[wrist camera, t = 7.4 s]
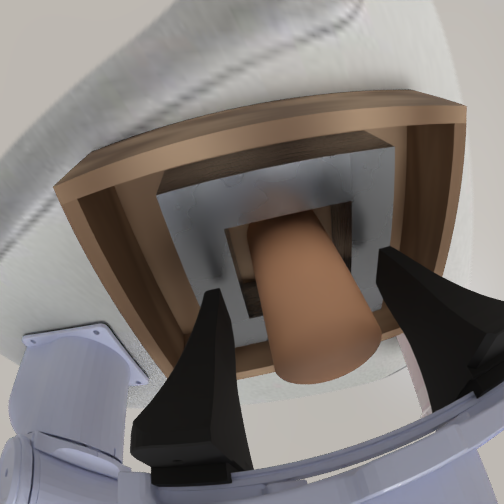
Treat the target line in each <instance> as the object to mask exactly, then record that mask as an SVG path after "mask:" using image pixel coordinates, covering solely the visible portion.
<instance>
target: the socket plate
mask: <svg viewBox="0 0 504 504" xmlns="http://www.w3.org/2000/svg"><path fill="white" fill-rule="evenodd" d="M394 177H395V147H394V146H393V145H391V144H389V143H387V142H385V141H384V140H382V139H380V138H378V137H376V136H374V135H372V134H370V133H368V132H366V131H357V132H349V133H341V134H334V135H327V136H320V137H314V138H308V139H302V140H296V141H290V142H285V143H279V144H274V145H269V146H264V147H259V148H254V149H250V150H245V151H241V152H236V153H232V154H227V155H223V156H219V157H215V158H211V159H207V160H203V161H199V162H195V163H191V164H188V165H184V166H180V167H177V168H173V169H169V170H166V171H165V172H164V174H163V177H162V180H161V183H160V185H159V188H158V191H157V194H156V197H157V200H158V203H159V206H160V208H161V211H162V214H163V216H164V219H165V222H166V225H167V227H168V230H169V232H170V235H171V238H172V240H173V243H174V245H175V248H176V250H177V253H178V255H179V258H180V260H181V263H182V265H183V268H184V270H185V273H186V275H187V278H188V280H189V282H190V285H191V287H192V290H193V292H194V294H195V297H196V299H197V301H198V304H199V306H200V307H201V303H202V300H203V296H204V293H205V291H207V290H212V289H216V288H220V290H221V293H222V296H223V299H224V301H225V304H226V307H227V310H228V313H229V315H230V318H231V323H232V329H233V334H234V341H235V348H236V347H241V346H246V345H250V344H255V343H259V342H264V341H268V336H267V331H266V326H265V321H264V317H263V312H262V307H261V303H260V298H259V293H258V288H257V283H256V280H255V281H251V282H247V283H243V281H242V278H241V274H240V270H239V267H238V263H237V259H236V256H235V252H234V248H233V245H232V241H231V237H230V234H229V230H228V228H231V227H235V226H240V225H244V224H248V223H252V222H257V221H261V220H266V219H270V218H274V217H279V216H283V215H288V214H292V213H297V212H301V211H306V210H310V209H315V208H320V207H324V206H329V205H330V206H331V226H332V242H333V244H334V246H335V247H336V249H337V251H338V252H339V254H340V256H341V257H342V259H343V261H344V263H345V264H346V266H347V268H348V270H349V271H350V273H351V275H352V277H353V278H354V280H355V282H356V284H357V285H358V287H359V289H360V291H361V293H362V295H363V296H364V298H365V300H366V302H367V304H368V306H369V307H370V309H371V311H372V312H374V311H377V310H380V309H381V307H382V301H383V298H382V296H381V294H380V292H379V289H378V287H377V285H376V283H375V282H376V273H377V263H378V252H379V249H380V248H384V247H388V246H390V240H391V230H392V217H393V201H394Z"/></svg>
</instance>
